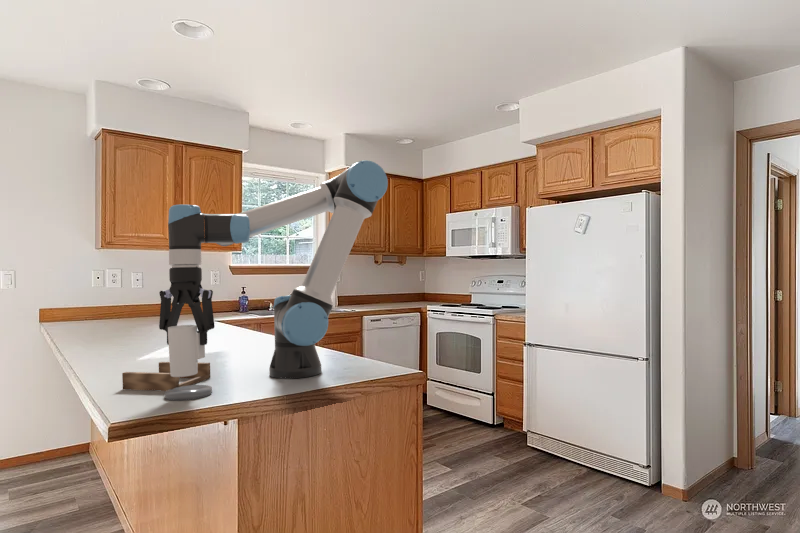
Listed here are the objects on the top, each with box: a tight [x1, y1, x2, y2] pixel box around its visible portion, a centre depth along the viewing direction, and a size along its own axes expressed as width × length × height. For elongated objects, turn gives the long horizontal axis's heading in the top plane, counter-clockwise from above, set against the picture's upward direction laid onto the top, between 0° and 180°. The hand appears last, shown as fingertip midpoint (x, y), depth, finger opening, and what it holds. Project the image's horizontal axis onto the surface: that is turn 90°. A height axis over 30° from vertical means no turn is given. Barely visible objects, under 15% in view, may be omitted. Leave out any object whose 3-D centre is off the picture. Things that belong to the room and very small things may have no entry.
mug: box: [168, 324, 199, 377], centre depth 129 cm, size 10×7×12 cm, turn 5°
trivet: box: [164, 384, 213, 402], centre depth 129 cm, size 11×11×1 cm
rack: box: [121, 361, 211, 392], centre depth 142 cm, size 16×16×4 cm
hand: (187, 357), depth 128 cm, fingers closed on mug, 7 cm apart
